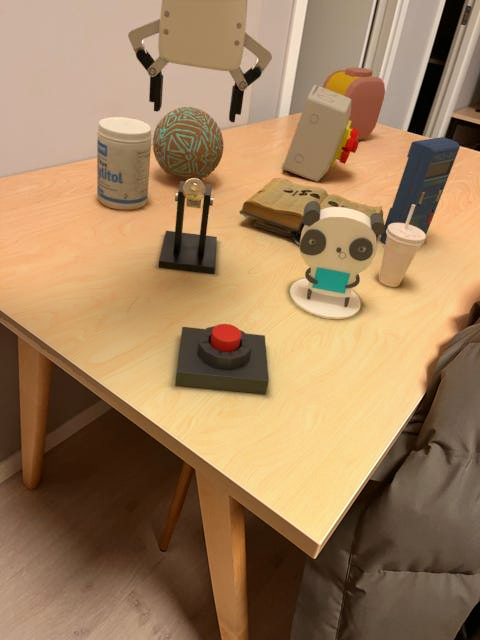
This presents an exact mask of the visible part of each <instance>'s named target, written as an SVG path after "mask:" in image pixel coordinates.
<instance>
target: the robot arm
mask: <svg viewBox="0 0 480 640" xmlns="http://www.w3.org/2000/svg"><path fill="white" fill-rule="evenodd" d="M247 13H248V0H161V7H160V16H159V18H158V19H155V20H154V21H153V20H152V21H151V22H148V23H146V24H144V25H141V26H139V27H136V28H134V29H132V30H130V31H129V32H128V34H127V36H128V39H129V42H130V44H131V47H132V49H133V51H134V53H135V57H136V59H137V60H138V62H139V63H140V65H142V67H143V68H144V69H145V71H146V72H147V74H148V76H149V94H148V95H149V97H148V101H149V103H153V111H154V112H157V113H158V112H159V111H161V109H162V106H163V105H162V104H163V87H164V75H163V74H162V70H163V69H164V68H165V67H166V66H167V65H168V64H169V63H171V64H175V65H181V66H186V67H187V66H188V67H194V68H201V69H207V70H213V71H221V72H229V74H230V77H232V79H233V81H234V85H232V89H231V97H230V103H229V111H228V122H230V123H235V121H236V115H238V116H241V115H242V110H243V109H242V108H243V102H244V95H245V91H246V90H247V89H248V87H249V86H250V85H252V84H253V83H254V82H256V81H257V80H258V79H259V78H260V77H261V76H262V74H263V73H264V71H265V70H266V68H267V67H268V65H269V64H270V62H271V61H272V59H273V56H272V53H271V52H270V51H269V50H268V49H267V48H266V47H264V46H263V45H262V44H261V43H259V42H258V41H257V40H256V39H254V37H252V36H251V35H250V34H249V33H248V32H246V30H247V29H246V28H247V27H246V26H247V15H248V14H247ZM157 34H158V43H157V44H158V45H157V48H158V55H157V57H155V58H153V57H152V56H151V54H150V53H149V51H148V50H147V49H146V47H145V44H144V39H147V38H150V37H151V36H154V35H157ZM244 48H245V49H247V50H248V51H249V52H251V53H252V54H253V55H254V56H255V57H257V59H256V61H255V62H254V64H253V66H251V67H250V68H249V69H248V70H247V71H245V72H244V71H243V70H242V68H241V67H240V66H241V64H242V59H243V55H244Z"/></svg>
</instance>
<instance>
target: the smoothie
mask: <svg viewBox="0 0 480 640" xmlns="http://www.w3.org/2000/svg"><path fill="white" fill-rule="evenodd" d="M414 208H415V205H414V204H412V206H411V209H410V212H409V215H408V217H407V220H406V223H392V224H390V225H388V228H387V230H386V233H387V238H386V243H384V247H383V248H384V249H383V254H382V259H381V263H380V269H379V274H378V281H379V282H380V283H381V284H382V285H384V286H386V287H390V288H396V287H399V286H400V284H401V283H402V281H403V279H404V277H405V275H406V274H407V271H408V269H409V268H410V267H411V264H412V262H413V260H414V258H415V257H416V255H417V253H418V252H419V249H420V247H421V245H423V244H425V242H426V238H427V234H425V233H424V232H423V231H422V230H421V229H419V228H417V227H415V226H412V225H409V222H410V219H411V217H412V214H413V211H414Z"/></svg>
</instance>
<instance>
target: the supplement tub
mask: <svg viewBox="0 0 480 640" xmlns="http://www.w3.org/2000/svg"><path fill="white" fill-rule="evenodd" d="M96 143H97V145H96V147H97V148H96V149H97V150H96V151H97V154H96V155H97V158H96V160H97V161H96V162H97V163H96V164H97V165H96V166H97V167H96V170H97V171H96V174H97V175H96V187H97V188H96V191H97V192H96V196H97V199H98V201H99V202H100V203H101V205H102V204H103V205H104V206H106V207H108V208H111V209H115V210H123V211H133V210H137V209H140V208H142V207H144V206H145V205H146V204H147V202H148V196H149V180H150V168H151V167H150V166H151V152H152V151H151V150H152V127H151V125H149V124H148V123H147V122H145V121H142V120H140V119H135V118H131V117H123V116H113V117H111V116H110V117H105V118H101V119H100V120H99V121H98V128H97V142H96Z"/></svg>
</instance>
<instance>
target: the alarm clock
mask: <svg viewBox="0 0 480 640" xmlns="http://www.w3.org/2000/svg"><path fill="white" fill-rule="evenodd" d="M373 73H374V71H373V70H372V69H370V68H366V67H347V68H345V69H338V70H334V71H333V72H331V73H330V74H329V75H328V76H327V77H326V79H325V81H324V82H323V85H322V87H323V88H325V89H328V90H330V91H333V92H336V93H338V94H341V95H343V96H346V97H348V98H350V99H351V115H350V118H349V120H350V121H351V124H350V127H349V128H350V129H353V128H355V129H357V130H359V132H358V135H357V137H356V140H357V141H363V140H364V139H366V138H368V137H369V136H370V135H371V134H372V133H373V131H374V130H375V128H376V126H377V123H378V120H379V117H380V114H381V111H382V107H383V103H384V100H385V96H386V87H385V82H384V80H383V79H382V78H381V77H379V76H373Z"/></svg>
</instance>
